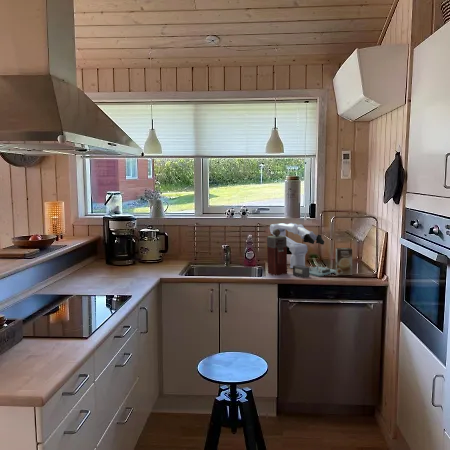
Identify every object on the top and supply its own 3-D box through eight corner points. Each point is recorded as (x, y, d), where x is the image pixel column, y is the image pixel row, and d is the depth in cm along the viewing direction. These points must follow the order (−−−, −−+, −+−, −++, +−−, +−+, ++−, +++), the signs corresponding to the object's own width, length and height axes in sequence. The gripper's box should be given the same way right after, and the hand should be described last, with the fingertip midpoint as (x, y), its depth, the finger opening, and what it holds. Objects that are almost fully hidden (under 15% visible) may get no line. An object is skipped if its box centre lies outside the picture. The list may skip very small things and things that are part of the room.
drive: (292, 275, 275) (292, 265, 274) (297, 274, 277) (297, 264, 277) (304, 278, 267) (304, 268, 266) (309, 276, 269) (309, 267, 268)
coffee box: (336, 275, 269) (336, 249, 267) (335, 273, 275) (335, 247, 273) (352, 275, 268) (352, 249, 266) (350, 273, 274) (350, 247, 272)
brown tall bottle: (277, 276, 274) (276, 230, 271) (267, 272, 284) (266, 228, 281) (289, 274, 278) (288, 229, 275) (279, 271, 288) (278, 227, 285)
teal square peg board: (297, 272, 283) (297, 266, 282) (318, 267, 293) (318, 262, 292) (319, 276, 268) (319, 271, 268) (339, 272, 278) (339, 266, 278)
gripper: (298, 227, 280) (311, 235, 269) (316, 229, 287) (329, 237, 276) (295, 238, 282) (307, 246, 271) (313, 239, 289) (326, 247, 278)
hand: (318, 242), depth 273 cm, fingers open, 7 cm apart
